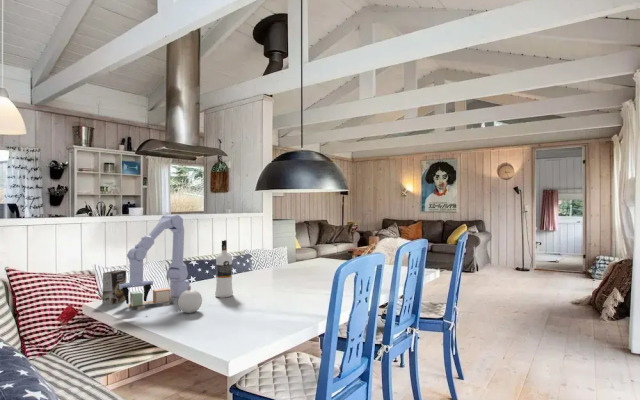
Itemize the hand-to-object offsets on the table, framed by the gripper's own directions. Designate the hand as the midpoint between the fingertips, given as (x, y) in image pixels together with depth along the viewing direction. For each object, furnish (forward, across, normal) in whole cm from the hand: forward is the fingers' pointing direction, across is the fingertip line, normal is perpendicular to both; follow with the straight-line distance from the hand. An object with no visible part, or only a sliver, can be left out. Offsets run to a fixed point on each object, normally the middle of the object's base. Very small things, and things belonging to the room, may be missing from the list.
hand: (136, 302), depth 182 cm
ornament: (+3, +18, -23) cm, 29 cm away
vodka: (+3, +43, -2) cm, 43 cm away
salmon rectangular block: (+2, +12, 0) cm, 12 cm away
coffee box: (+3, -7, +15) cm, 17 cm away
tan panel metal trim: (+3, +6, -1) cm, 7 cm away
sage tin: (+2, 0, 0) cm, 2 cm away
